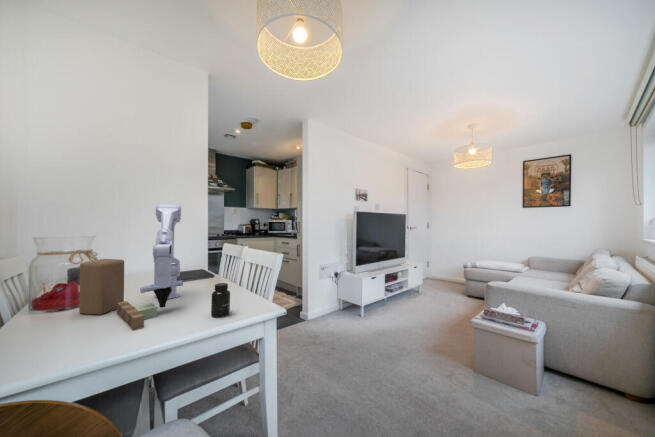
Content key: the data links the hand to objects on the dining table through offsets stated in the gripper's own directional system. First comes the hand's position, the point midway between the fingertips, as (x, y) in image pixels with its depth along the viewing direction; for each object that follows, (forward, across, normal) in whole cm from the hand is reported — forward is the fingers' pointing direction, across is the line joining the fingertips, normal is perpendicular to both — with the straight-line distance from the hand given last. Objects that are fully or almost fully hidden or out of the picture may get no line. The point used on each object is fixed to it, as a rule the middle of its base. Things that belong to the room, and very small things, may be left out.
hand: (162, 306), depth 100 cm
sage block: (+2, -6, 0) cm, 6 cm away
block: (+2, -15, +19) cm, 24 cm away
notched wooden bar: (+2, -11, 0) cm, 11 cm away
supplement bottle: (+2, +14, -20) cm, 25 cm away
